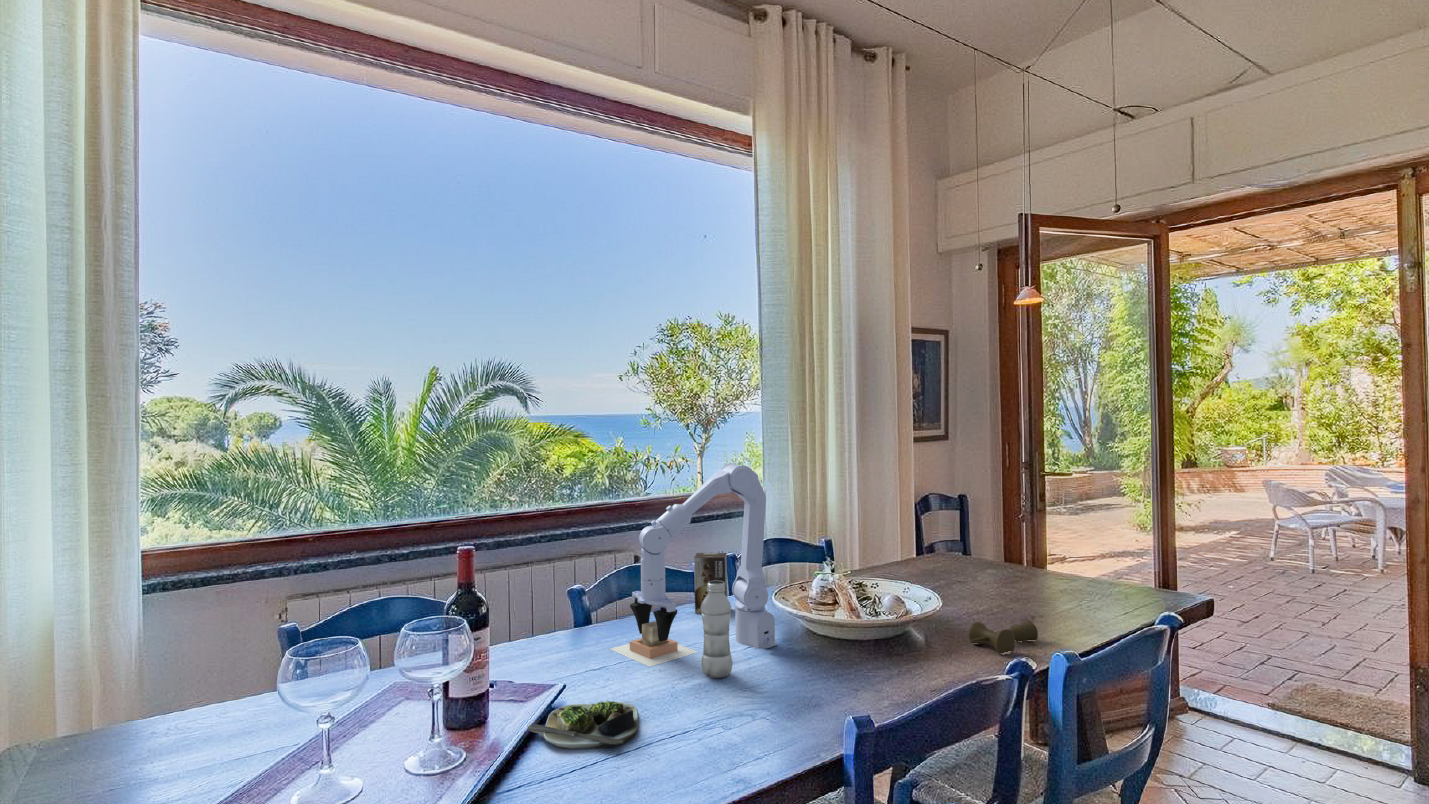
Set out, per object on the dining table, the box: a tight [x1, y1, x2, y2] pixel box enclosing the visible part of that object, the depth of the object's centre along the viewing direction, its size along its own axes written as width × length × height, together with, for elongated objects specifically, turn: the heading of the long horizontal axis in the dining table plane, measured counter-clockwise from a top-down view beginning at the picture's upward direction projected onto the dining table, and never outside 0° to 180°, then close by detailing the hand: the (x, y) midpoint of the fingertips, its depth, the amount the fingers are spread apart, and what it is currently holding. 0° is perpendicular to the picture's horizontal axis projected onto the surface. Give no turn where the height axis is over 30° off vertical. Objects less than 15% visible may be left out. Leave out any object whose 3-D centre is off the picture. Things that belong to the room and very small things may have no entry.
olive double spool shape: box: [968, 620, 1039, 654], centre depth 167 cm, size 6×10×20 cm
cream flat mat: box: [609, 642, 698, 668], centre depth 163 cm, size 16×14×1 cm
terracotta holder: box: [629, 637, 678, 659], centre depth 163 cm, size 8×8×2 cm
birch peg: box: [641, 620, 666, 647], centre depth 163 cm, size 4×4×6 cm
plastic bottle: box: [701, 581, 734, 679], centre depth 149 cm, size 6×7×20 cm
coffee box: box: [693, 552, 728, 615], centre depth 199 cm, size 9×6×16 cm
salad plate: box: [527, 700, 639, 750], centre depth 124 cm, size 19×18×5 cm
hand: (653, 636), depth 163 cm, fingers open, 7 cm apart
